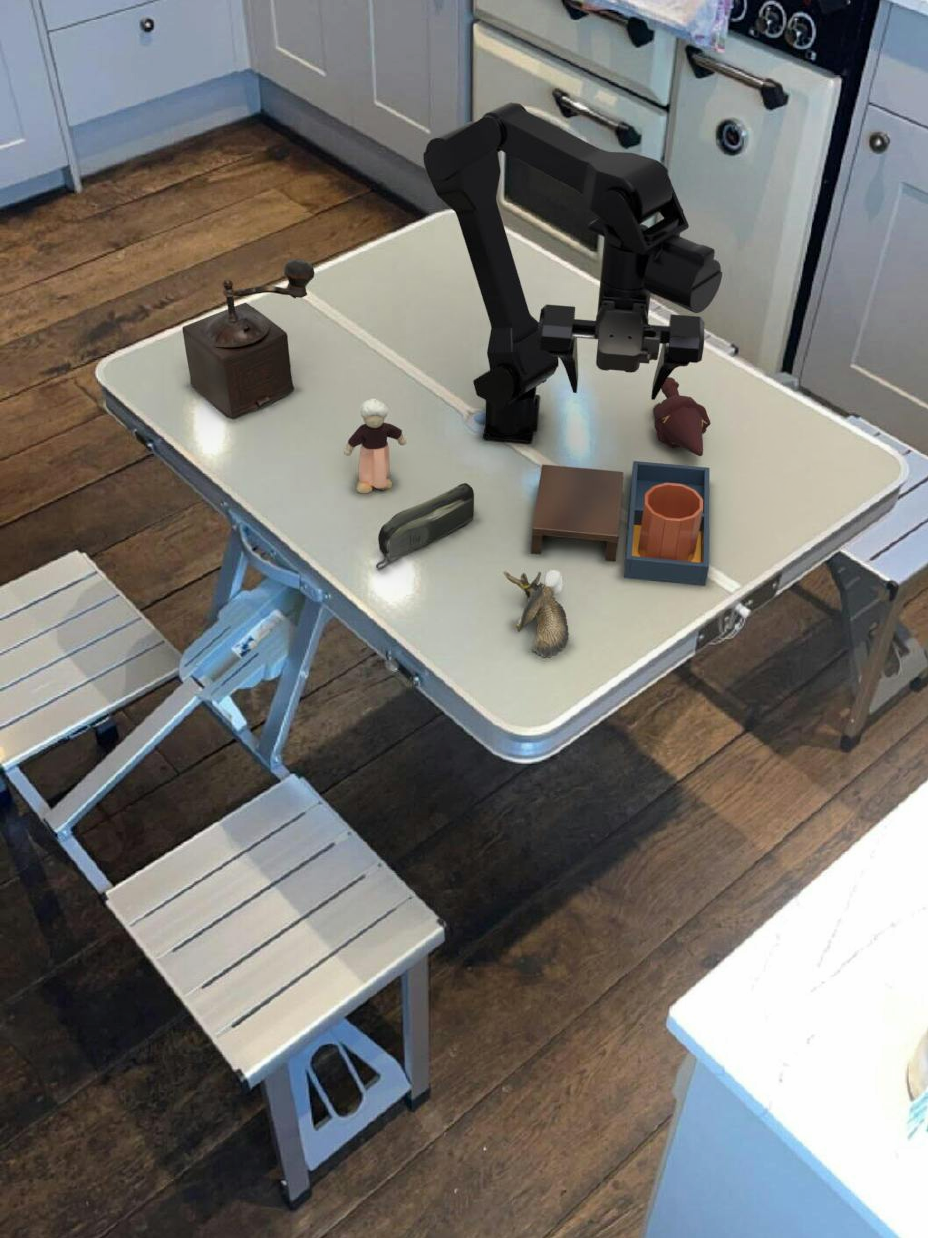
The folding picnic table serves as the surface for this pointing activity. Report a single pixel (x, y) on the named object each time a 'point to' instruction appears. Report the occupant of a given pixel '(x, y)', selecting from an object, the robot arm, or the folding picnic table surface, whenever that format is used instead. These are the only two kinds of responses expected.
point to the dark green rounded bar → (425, 523)
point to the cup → (670, 522)
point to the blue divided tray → (641, 483)
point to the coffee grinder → (243, 349)
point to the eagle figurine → (544, 612)
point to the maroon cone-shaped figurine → (680, 420)
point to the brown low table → (578, 506)
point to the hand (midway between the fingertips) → (613, 394)
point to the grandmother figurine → (374, 446)
